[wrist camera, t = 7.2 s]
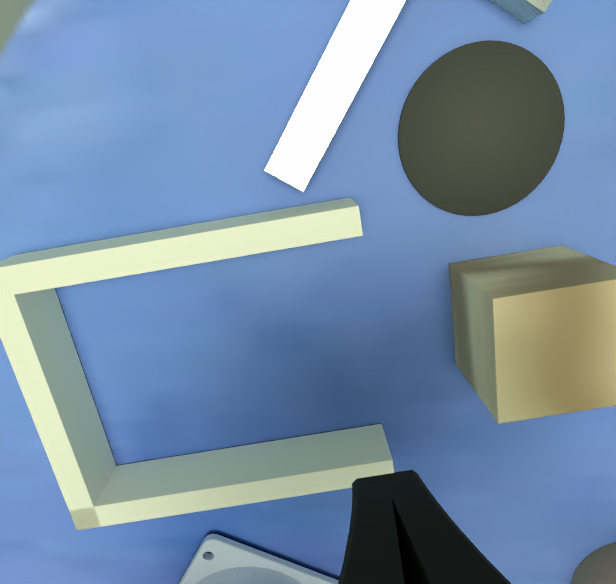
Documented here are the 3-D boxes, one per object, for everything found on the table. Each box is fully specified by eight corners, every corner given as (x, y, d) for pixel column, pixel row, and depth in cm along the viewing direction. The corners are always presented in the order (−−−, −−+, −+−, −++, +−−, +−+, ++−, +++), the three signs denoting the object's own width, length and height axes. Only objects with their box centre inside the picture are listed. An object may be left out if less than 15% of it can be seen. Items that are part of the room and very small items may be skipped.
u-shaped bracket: (101, 487, 22) (77, 530, 19) (16, 254, 18) (-26, 271, 16) (384, 442, 21) (395, 480, 19) (350, 197, 18) (359, 205, 16)
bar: (392, 237, 19) (400, 245, 17) (267, 167, 18) (264, 170, 16) (549, -20, 16) (573, -36, 15) (411, -118, 15) (424, -145, 14)
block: (455, 363, 20) (497, 423, 16) (448, 262, 19) (492, 298, 15) (560, 347, 20) (631, 403, 16) (561, 244, 19) (639, 275, 15)
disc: (501, 241, 19) (502, 242, 18) (368, 169, 18) (368, 169, 18) (595, 95, 17) (598, 94, 17) (455, 6, 16) (456, 5, 16)
